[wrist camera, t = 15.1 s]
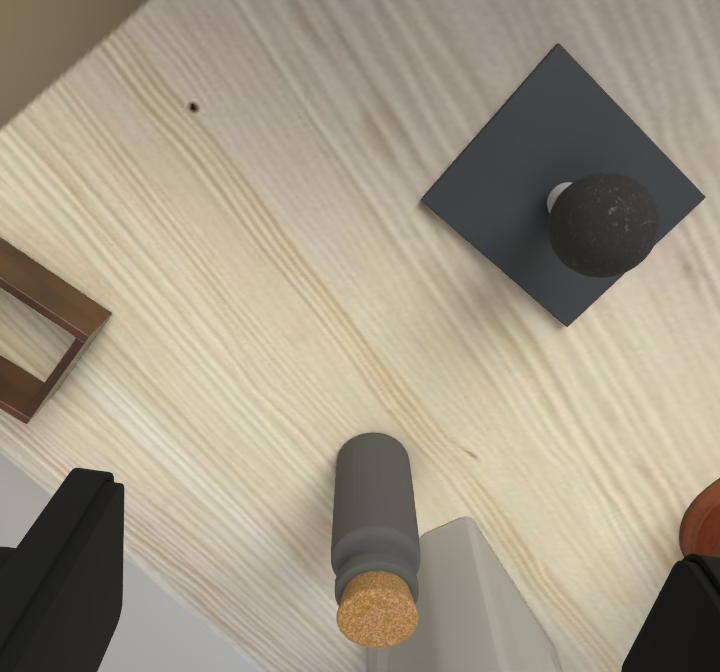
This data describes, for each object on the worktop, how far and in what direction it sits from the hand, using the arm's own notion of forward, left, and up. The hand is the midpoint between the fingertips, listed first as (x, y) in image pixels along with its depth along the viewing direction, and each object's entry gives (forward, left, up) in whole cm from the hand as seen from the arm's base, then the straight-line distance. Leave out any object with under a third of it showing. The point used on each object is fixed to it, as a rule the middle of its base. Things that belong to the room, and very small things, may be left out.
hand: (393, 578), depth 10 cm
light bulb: (+10, +8, -32) cm, 34 cm away
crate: (-13, -22, -32) cm, 41 cm away
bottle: (+14, -16, -32) cm, 39 cm away
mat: (+10, +8, -32) cm, 35 cm away
